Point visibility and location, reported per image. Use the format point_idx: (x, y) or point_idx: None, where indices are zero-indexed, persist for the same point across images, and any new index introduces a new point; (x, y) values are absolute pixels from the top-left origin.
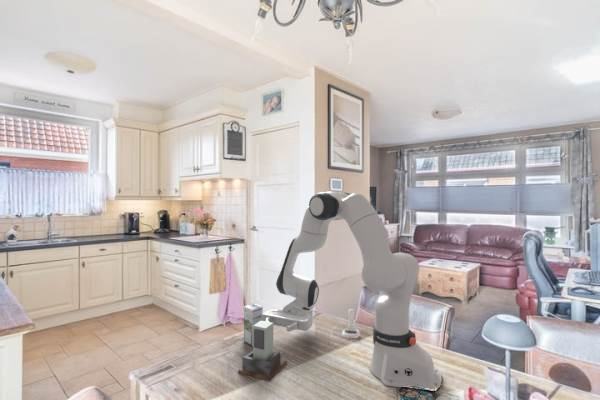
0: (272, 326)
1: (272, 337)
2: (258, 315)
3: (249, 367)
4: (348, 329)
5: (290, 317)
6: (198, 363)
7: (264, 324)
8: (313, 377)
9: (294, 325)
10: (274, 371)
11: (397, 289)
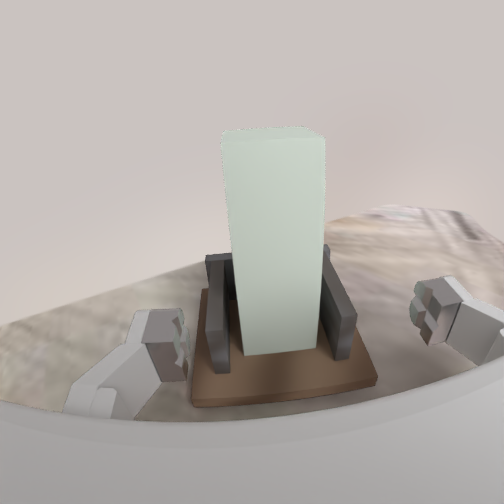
0: (222, 161)
1: (230, 231)
2: None
3: None
4: None
5: (212, 480)
6: (458, 263)
7: (258, 133)
8: (65, 361)
9: (102, 371)
10: (205, 318)
11: None
